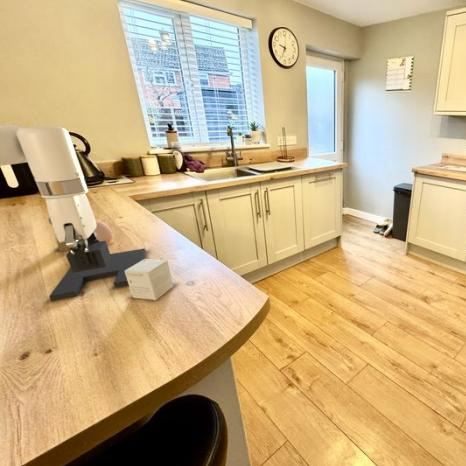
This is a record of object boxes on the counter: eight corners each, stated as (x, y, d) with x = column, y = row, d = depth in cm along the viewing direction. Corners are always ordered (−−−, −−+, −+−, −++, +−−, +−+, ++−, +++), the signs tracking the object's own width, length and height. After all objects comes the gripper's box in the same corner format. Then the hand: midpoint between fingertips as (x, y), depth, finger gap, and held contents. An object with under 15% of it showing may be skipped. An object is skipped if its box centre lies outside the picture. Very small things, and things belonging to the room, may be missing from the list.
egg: (85, 252, 87) (75, 227, 84) (88, 244, 93) (79, 220, 90) (114, 247, 91) (106, 222, 88) (116, 239, 97) (108, 216, 93)
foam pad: (73, 273, 65) (65, 255, 63) (80, 262, 70) (74, 245, 68) (106, 267, 68) (100, 249, 66) (111, 256, 73) (105, 240, 71)
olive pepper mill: (62, 245, 92) (49, 212, 88) (86, 242, 95) (75, 210, 90) (55, 252, 87) (41, 218, 83) (81, 249, 90) (68, 215, 86)
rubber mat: (51, 301, 65) (49, 296, 64) (78, 264, 81) (76, 259, 80) (137, 284, 72) (135, 279, 71) (145, 252, 88) (144, 248, 87)
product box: (132, 298, 66) (122, 270, 63) (152, 284, 72) (144, 258, 69) (156, 300, 65) (148, 272, 63) (174, 286, 71) (168, 260, 68)
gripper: (55, 181, 67) (82, 250, 74) (21, 199, 53) (58, 282, 60) (96, 178, 70) (118, 245, 77) (74, 194, 56) (103, 274, 63)
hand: (91, 260), depth 69 cm, fingers closed on foam pad, 6 cm apart
